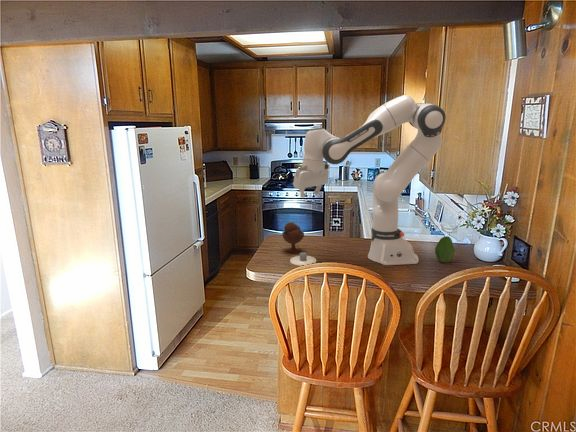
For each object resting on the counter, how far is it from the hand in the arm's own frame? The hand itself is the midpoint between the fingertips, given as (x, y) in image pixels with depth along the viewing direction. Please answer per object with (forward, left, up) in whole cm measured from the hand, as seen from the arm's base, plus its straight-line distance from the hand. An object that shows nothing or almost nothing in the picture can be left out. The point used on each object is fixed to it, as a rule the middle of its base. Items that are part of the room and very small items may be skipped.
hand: (309, 195), depth 166 cm
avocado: (-60, 0, -30) cm, 67 cm away
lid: (+3, +4, -30) cm, 31 cm away
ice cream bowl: (+9, -9, -30) cm, 33 cm away
